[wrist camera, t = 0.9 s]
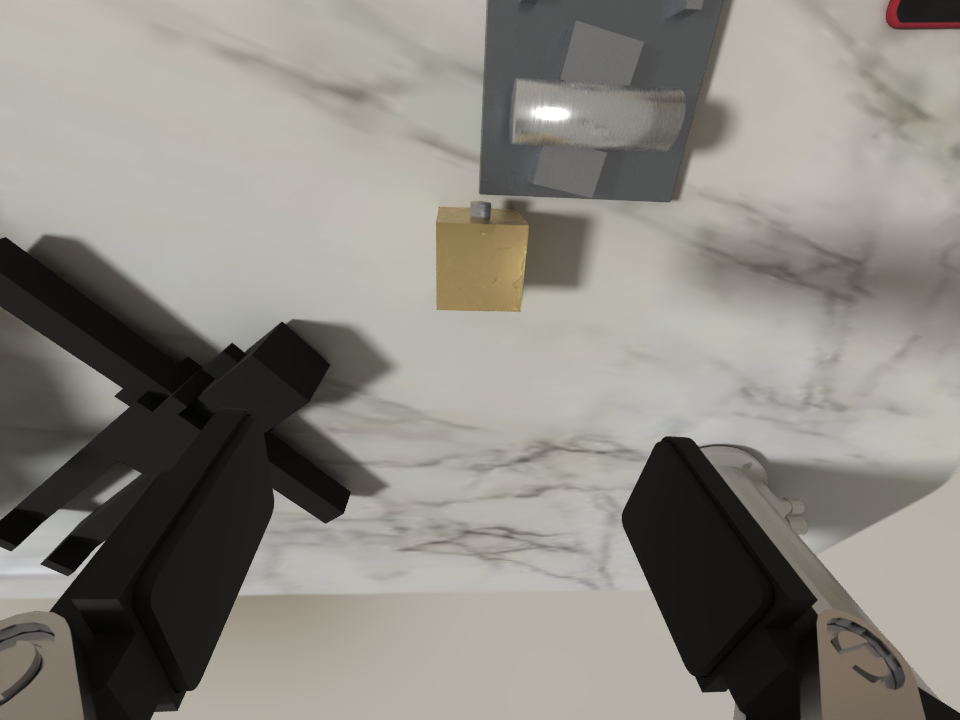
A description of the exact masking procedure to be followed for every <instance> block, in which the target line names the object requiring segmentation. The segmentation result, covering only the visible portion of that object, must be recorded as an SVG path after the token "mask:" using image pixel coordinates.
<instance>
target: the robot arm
mask: <svg viewBox="0 0 960 720" xmlns="http://www.w3.org/2000/svg"><path fill="white" fill-rule="evenodd" d="M273 508H274V495H273V489H272V482H271V476H270V469H269V463H268V456H267V450H266V443H265V437H264V431H263V424H262V419H261V418H260V417H259V416H254V414H253V412H252V410H250V409H240V408H225V407H222V408H219V409H218V410H217V411H216V412H215V414H214V415H213V416H212V418H211V419H210V420H209V421H208V423H207V424H206V425H205V427H204V428H203V429H202V431H201V432H200V433H199V434H198V436H197V437H196V438H195V440H194V441H193V442H192V443H191V445H190V446H189V447H188V449H187V450H186V451H185V453H184V454H183V455H182V456H181V458H180V459H179V460H178V462H177V463H176V464H175V465H174V467H173V468H168V469H166V470H164V471H162V472H161V473H160V474H159V475H158V476H157V477H156V478H155V480H154V481H153V482H152V483H151V485H150V486H149V487H148V488H147V490H146V491H145V492H144V493H143V495H142V496H141V497H140V499H139V500H138V501H137V502H136V504H135V505H134V506H133V507H132V509H131V510H130V511H129V512H128V514H127V515H126V516H125V517H124V519H123V520H122V521H121V522H120V524H119V525H118V526H117V527H116V529H115V530H114V531H113V532H112V534H111V535H110V536H109V537H108V539H107V540H106V541H105V542H104V544H103V545H102V546H101V547H100V549H99V550H98V551H97V552H96V554H95V555H94V556H93V558H92V559H91V560H90V561H89V563H88V564H87V565H86V566H85V568H84V569H83V570H82V571H81V573H80V574H79V575H78V576H77V578H76V579H75V580H74V581H73V583H72V584H71V585H70V586H69V588H68V589H67V590H66V591H65V593H64V594H63V595H62V596H61V598H60V599H59V600H58V601H57V603H56V604H55V605H54V606H53V608H52V609H51V610H50V611H49V612H43V611H34V612H29V613H23V614H18V615H14V616H12V617H9V618H6V619H4V620H1V621H0V720H150V719H151V717H152V715H153V713H154V712H163V711H178V708H179V706H180V704H181V701H182V699H183V697H184V695H185V693H186V691H192V690H194V689H195V688H196V687H197V686H198V684H199V683H200V681H201V679H202V677H203V674H204V672H205V670H206V667H207V665H208V663H209V660H210V658H211V656H212V653H213V651H214V649H215V646H216V644H217V642H218V639H219V637H220V635H221V632H222V630H223V627H224V625H225V623H226V621H227V619H228V616H229V614H230V612H231V609H232V607H233V605H234V602H235V600H236V598H237V595H238V593H239V591H240V588H241V586H242V584H243V581H244V579H245V577H246V574H247V572H248V570H249V567H250V565H251V563H252V560H253V558H254V556H255V553H256V551H257V549H258V546H259V544H260V542H261V539H262V537H263V535H264V532H265V530H266V528H267V525H268V523H269V521H270V518H271V516H272V513H273ZM804 512H805V504H804V503H803V501H802V500H800V499H797V498H788V499H778V498H777V497H775V495H774V494H773V493H772V492H771V491H770V490H769V489H768V477H767V473H766V471H765V469H764V468H763V466H762V465H761V464H760V463H759V462H758V461H757V460H756V459H755V457H753V456H752V455H750V454H749V453H747V452H746V451H743V450H740V449H738V448H732V447H726V446H712V447H705V448H699V447H698V446H697V445H696V443H695V442H694V441H693V440H692V439H690V438H686V437H670V436H668V437H664V438H663V439H662V440H661V442H658V443H656V445H655V446H654V448H653V450H652V452H651V455H650V457H649V459H648V461H647V463H646V465H645V467H644V469H643V471H642V473H641V475H640V477H639V479H638V481H637V483H636V485H635V487H634V490H633V492H632V494H631V496H630V498H629V500H628V502H627V504H626V506H625V508H624V510H623V513H622V524H623V527H624V530H625V532H626V534H627V536H628V539H629V541H630V543H631V545H632V548H633V550H634V552H635V554H636V557H637V559H638V561H639V563H640V566H641V568H642V570H643V572H644V575H645V577H646V579H647V581H648V584H649V586H650V588H651V590H652V593H653V595H654V597H655V599H656V602H657V604H658V606H659V608H660V611H661V613H662V615H663V617H664V619H665V622H666V624H667V627H668V629H669V631H670V633H671V635H672V638H673V640H674V642H675V645H676V646H677V649H678V651H679V653H680V656H681V658H682V660H683V662H684V665H685V667H686V668H687V670H688V671H689V673H690V674H692V675H693V676H695V677H696V680H697V682H698V684H699V686H700V688H701V691H702V692H726V691H727V689H729V691H730V692H731V695H732V697H733V699H734V700H735V710H734V719H733V720H960V713H959V712H957V711H956V710H954V709H952V708H951V707H949V706H948V705H946V704H945V703H943V702H941V700H940V699H939V698H938V697H937V696H936V695H935V694H934V693H933V691H932V690H931V689H930V688H929V687H928V686H927V684H926V683H925V682H924V681H923V680H922V679H921V678H920V676H919V675H918V674H917V673H916V672H915V671H914V669H913V668H912V667H911V666H910V665H909V664H908V662H907V661H906V660H905V659H904V658H903V656H902V655H901V653H900V652H899V651H898V650H897V649H896V648H895V647H894V646H893V645H892V644H891V642H890V641H889V640H888V639H886V637H885V636H884V635H883V634H882V633H881V631H880V630H879V629H878V628H877V627H876V626H875V624H873V622H872V621H871V620H870V619H869V617H868V616H867V615H866V614H865V613H864V612H863V610H862V609H861V608H860V607H859V606H858V605H857V603H856V602H855V601H854V600H853V599H852V597H851V596H850V595H849V594H848V593H847V592H846V590H845V589H844V588H843V587H842V586H841V585H840V583H838V581H837V580H836V579H835V578H834V577H833V575H832V574H831V573H830V572H829V571H828V569H827V568H826V567H825V566H824V565H823V564H822V562H820V560H819V559H818V558H817V557H816V555H815V554H814V553H813V552H812V551H811V550H810V548H809V547H808V546H807V545H806V544H805V543H804V541H803V540H802V539H801V538H800V537H799V535H798V534H805V533H806V532H807V531H808V525H807V521H806V520H805V518H804V517H803V516H802V515H800V514H802V513H804Z"/></svg>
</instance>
